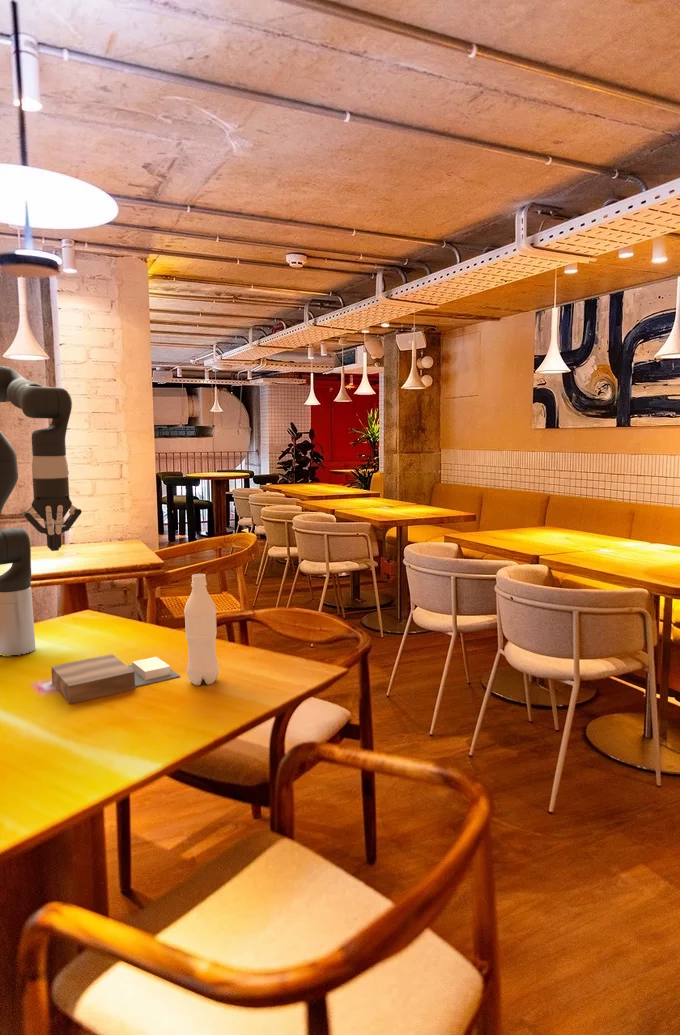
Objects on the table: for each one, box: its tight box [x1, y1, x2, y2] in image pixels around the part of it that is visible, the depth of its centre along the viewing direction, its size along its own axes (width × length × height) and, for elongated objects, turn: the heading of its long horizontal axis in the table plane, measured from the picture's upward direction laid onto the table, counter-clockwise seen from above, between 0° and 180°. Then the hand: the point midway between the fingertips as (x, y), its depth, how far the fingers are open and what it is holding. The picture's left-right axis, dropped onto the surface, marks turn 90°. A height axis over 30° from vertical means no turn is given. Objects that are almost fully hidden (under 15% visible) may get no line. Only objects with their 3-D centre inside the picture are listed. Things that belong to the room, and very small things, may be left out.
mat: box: [127, 664, 181, 688], centre depth 158 cm, size 15×11×1 cm
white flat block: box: [131, 656, 171, 680], centre depth 158 cm, size 9×6×2 cm, turn 36°
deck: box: [50, 653, 136, 705], centre depth 151 cm, size 16×14×4 cm
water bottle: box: [183, 573, 220, 686], centre depth 151 cm, size 7×7×25 cm
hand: (54, 550), depth 153 cm, fingers closed
